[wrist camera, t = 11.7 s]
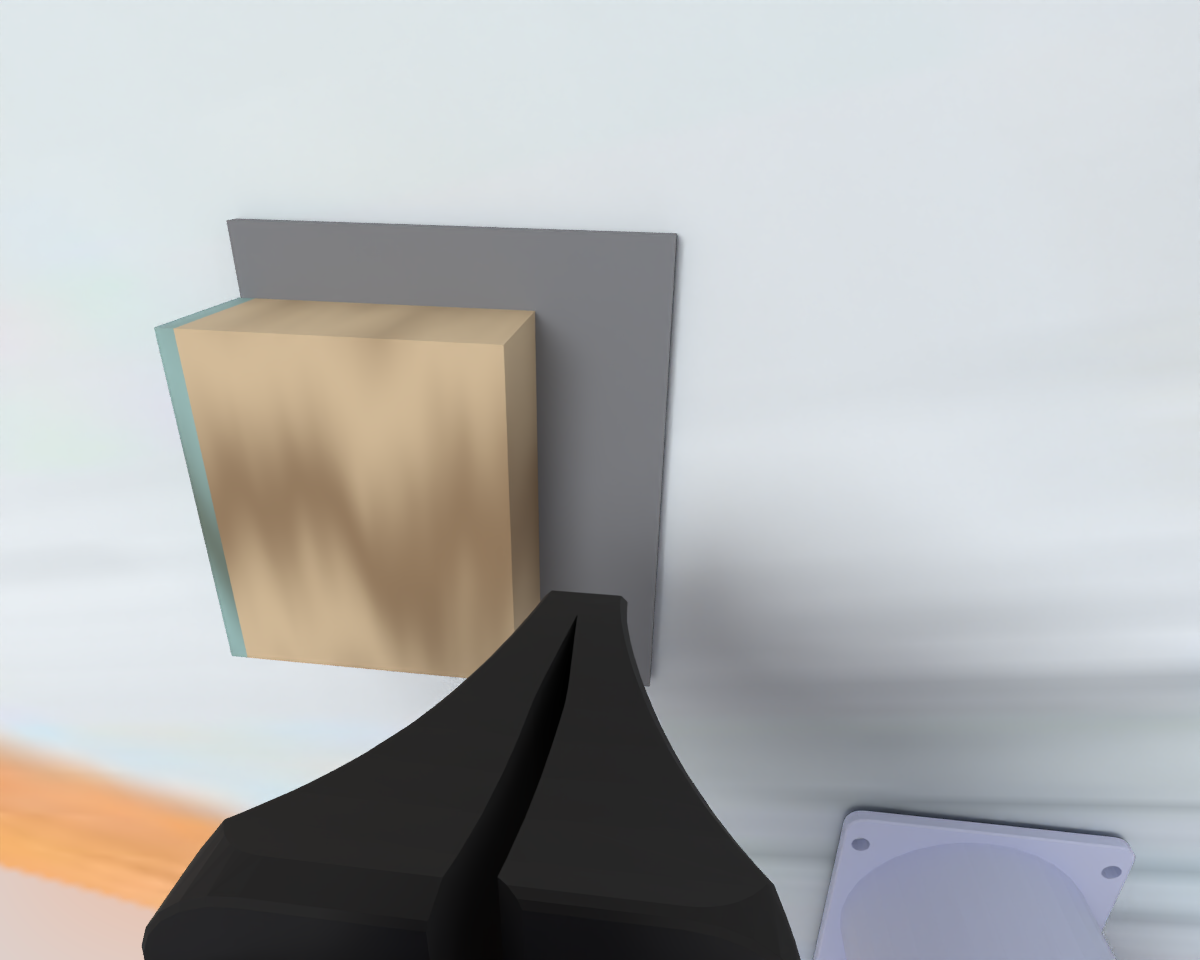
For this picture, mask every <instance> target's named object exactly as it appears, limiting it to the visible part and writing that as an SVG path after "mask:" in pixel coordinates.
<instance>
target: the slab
mask: <svg viewBox="0 0 1200 960" xmlns="http://www.w3.org/2000/svg"><path fill="white" fill-rule="evenodd" d="M154 329H155V333H156V338H157V342H158V346H159V350H160V354H161V359H162V363H163V367H164V371H165V375H166V380H167V384H168V388H169V392H170V397H171V401H172V405H173V409H174V413H175V418H176V422H177V426H178V430H179V435H180V439H181V443H182V447H183V451H184V456H185V460H186V464H187V468H188V473H189V477H190V481H191V485H192V489H193V494H194V498H195V502H196V506H197V511H198V515H199V519H200V523H201V527H202V532H203V536H204V540H205V544H206V548H207V553H208V557H209V561H210V565H211V570H212V574H213V578H214V582H215V586H216V591H217V595H218V599H219V603H220V608H221V612H222V616H223V620H224V624H225V629H226V633H227V637H228V641H229V646H230V650H231V654H232V656H238V657H249V658H259V659H270V660H281V661H291V662H302V663H312V664H323V665H333V666H344V667H355V668H365V669H376V670H386V671H397V672H408V673H418V674H429V675H439V676H450V677H460V678H468V677H469V676H470V675H471V674H472V673H474V672H475V671H476V670H477V669H478V668H479V667H480V666H481V665H482V664H483V663H484V662H485V661H486V660H487V659H488V658H490V657H491V656H492V654H493V653H494V652H495V651H496V650H497V649H498V648H499V647H500V646H501V645H502V644H503V643H504V642H505V641H506V640H507V639H508V638H509V637H510V636H511V635H512V634H513V633H514V631H515V630H516V629H517V628H518V627H519V626H520V625H521V624H522V623H523V621H524V620H525V619H526V618H527V617H528V616H529V615H530V613H531V612H532V611H533V610H534V609H535V607H536V606H537V605H538V604H539V603H540V562H539V507H538V451H537V396H536V340H535V311H526V310H504V309H482V308H459V307H437V306H415V305H392V304H370V303H347V302H325V301H303V300H280V299H258V298H237V299H234V300H231V301H228V302H225V303H222V304H220V305H217V306H214V307H211V308H208V309H205V310H203V311H200V312H197V313H194V314H191V315H188V316H186V317H183V318H180V319H177V320H174V321H172V322H169V323H166V324H163V325H160V326H157V327H155V328H154Z"/></svg>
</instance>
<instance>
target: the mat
mask: <svg viewBox="0 0 1200 960" xmlns="http://www.w3.org/2000/svg"><path fill="white" fill-rule="evenodd" d="M227 225H228V231H229V236H230V242H231V247H232V253H233V258H234V263H235V269H236V274H237V280H238V285H239V291H240V296H241V298H258V299H280V300H303V301H325V302H347V303H370V304H392V305H415V306H437V307H459V308H482V309H504V310H526V311H535V340H536V396H537V451H538V507H539V562H540V601H541V600H542V599H543V598H544V596H545V595H547V594H548V593H549V592H550V591H552V590H554V591H567V592H580V593H593V594H606V595H619V596H622V597H623V598H624V599H625V600H626V601H627V602H628V606H627V624H628V631H629V636H630V641H631V645H632V649H633V653H634V656H635V660H636V663H637V666H638V669H639V673H640V676H641V679H642V682H643V684H644V686H650V672H651V656H652V639H653V622H654V606H655V589H656V572H657V555H658V539H659V522H660V505H661V489H662V472H663V455H664V439H665V422H666V405H667V388H668V372H669V355H670V338H671V322H672V305H673V288H674V272H675V255H676V238H677V234H676V233H647V232H617V231H587V230H557V229H528V228H498V227H468V226H438V225H409V224H379V223H349V222H319V221H290V220H260V219H232V220H227Z"/></svg>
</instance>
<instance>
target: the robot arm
mask: <svg viewBox="0 0 1200 960" xmlns="http://www.w3.org/2000/svg"><path fill="white" fill-rule="evenodd" d="M627 606H628V602H627V601H626V600H625V599H624V598H623V597H622V596H619V595H606V594H593V593H580V592H567V591H554V590H552V591H550V592H549V593H548V594H547V595H545V596H544V598H543V599H542V600H541V601H540V603H539V604H538V605H537V606H536V607H535V609H534V610H533V611H532V612H531V613H530V615H529V616H528V617H527V618H526V619H525V620H524V621H523V623H522V624H521V625H520V626H519V627H518V628H517V629H516V630H515V631H514V633H513V634H512V635H511V636H510V637H509V638H508V639H507V640H506V641H505V642H504V643H503V644H502V645H501V646H500V647H499V648H498V649H497V650H496V651H495V652H494V653H493V654H492V656H491V657H490V658H488V659H487V660H486V661H485V662H484V663H483V664H482V665H481V666H480V667H479V668H478V669H477V670H476V671H475V672H474V673H472V674H471V675H470V676H469V677H468V678H467V679H466V680H465V681H464V682H463V683H462V684H460V685H459V686H458V687H457V688H456V689H455V690H454V691H452V692H451V693H450V694H449V695H448V696H446V697H445V698H444V699H443V700H442V701H440V702H439V703H438V704H437V705H435V706H434V707H433V708H432V709H430V710H429V711H428V712H426V713H425V714H424V715H422V716H421V717H420V718H418V719H417V720H416V721H414V722H413V723H411V724H410V725H409V726H407V727H406V728H404V729H402V730H401V731H399V732H398V733H396V734H395V735H393V736H391V737H390V738H388V739H387V740H385V741H384V742H382V743H380V744H379V745H377V746H376V747H374V748H373V749H371V750H369V751H368V752H366V753H364V754H363V755H361V756H359V757H358V758H356V759H354V760H352V761H350V762H348V763H347V764H345V765H343V766H341V767H339V768H338V769H336V770H334V771H332V772H330V773H328V774H326V775H324V776H322V777H320V778H318V779H316V780H314V781H312V782H310V783H308V784H306V785H304V786H302V787H300V788H298V789H296V790H293V791H291V792H289V793H287V794H284V795H282V796H280V797H277V798H275V799H273V800H270V801H268V802H266V803H263V804H261V805H259V806H256V807H254V808H252V809H249V810H247V811H245V812H242V813H240V814H237V815H235V816H232V817H230V818H227V819H225V820H224V821H223V822H222V823H221V825H220V826H219V827H218V828H217V830H216V831H215V832H214V833H213V835H212V836H211V837H210V838H209V839H208V841H207V842H206V843H205V844H204V845H203V847H202V848H201V849H200V850H199V852H198V853H197V855H196V856H195V857H194V859H193V860H192V862H191V863H190V864H189V866H188V867H187V869H186V870H185V872H184V873H183V874H182V876H181V877H180V879H179V880H178V882H177V883H176V885H175V886H174V887H173V889H172V890H171V892H170V893H169V895H168V896H167V898H166V899H165V900H164V902H163V903H162V905H161V906H160V908H159V909H158V911H157V912H156V913H155V915H154V916H153V918H152V919H151V921H150V922H149V924H148V925H147V926H146V929H145V933H144V938H143V942H142V950H143V955H144V960H801V959H800V956H799V953H798V949H797V946H796V942H795V939H794V936H793V934H792V931H791V928H790V925H789V922H788V919H787V917H786V914H785V912H784V909H783V906H782V904H781V901H780V899H779V896H778V894H777V891H776V889H775V886H774V884H773V883H772V882H771V881H770V880H769V879H768V878H767V877H766V876H765V875H764V874H763V872H762V871H761V870H760V869H759V868H758V867H757V866H756V865H755V864H754V863H753V861H752V860H751V859H750V858H749V857H748V856H747V854H746V853H745V852H744V851H743V850H742V849H741V847H740V846H739V845H738V844H737V843H736V841H735V840H734V839H733V838H732V836H731V835H730V834H729V832H728V831H727V830H726V829H725V827H724V826H723V825H722V823H721V822H720V821H719V820H718V818H717V817H716V816H715V814H714V813H713V811H712V810H711V808H710V807H709V806H708V804H707V803H706V801H705V800H704V798H703V797H702V795H701V794H700V792H699V791H698V789H697V788H696V786H695V785H694V783H693V782H692V780H691V779H690V777H689V776H688V774H687V773H686V771H685V769H684V768H683V766H682V764H681V762H680V761H679V759H678V757H677V756H676V754H675V752H674V750H673V748H672V747H671V745H670V743H669V741H668V739H667V737H666V735H665V733H664V731H663V729H662V727H661V725H660V723H659V721H658V718H657V716H656V714H655V712H654V709H653V707H652V705H651V702H650V700H649V697H648V695H647V692H646V690H645V687H644V684H643V682H642V679H641V676H640V673H639V669H638V666H637V663H636V660H635V656H634V653H633V649H632V645H631V641H630V636H629V631H628V624H627ZM858 838H863V839H858ZM1134 861H1135V854H1134V852H1133V850H1132V849H1131V847H1130V846H1129V844H1128V842H1126V841H1125V840H1123V839H1120V838H1116V837H1108V836H1098V835H1089V834H1079V833H1070V832H1061V831H1051V830H1042V829H1032V828H1023V827H1014V826H1004V825H995V824H985V823H976V822H967V821H957V820H948V819H939V818H929V817H920V816H910V815H901V814H892V813H882V812H873V811H855V812H852V813H850V814H849V815H847V816H846V818H845V820H844V822H843V827H842V832H841V836H840V841H839V845H838V850H837V854H836V859H835V863H834V868H833V872H832V877H831V881H830V886H829V890H828V895H827V899H826V904H825V908H824V913H823V917H822V922H821V926H820V931H819V935H818V940H817V944H816V949H815V953H814V958H813V960H1116V958H1115V956H1114V954H1113V952H1112V951H1111V949H1110V947H1109V945H1108V943H1107V941H1106V939H1105V937H1104V935H1103V933H1102V929H1103V927H1104V925H1105V923H1106V921H1107V919H1108V917H1109V914H1110V912H1111V910H1112V908H1113V906H1114V904H1115V902H1116V900H1117V897H1118V895H1119V893H1120V891H1121V889H1122V887H1123V885H1124V883H1125V880H1126V878H1127V876H1128V874H1129V872H1130V870H1131V868H1132V866H1133V863H1134Z"/></svg>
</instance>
